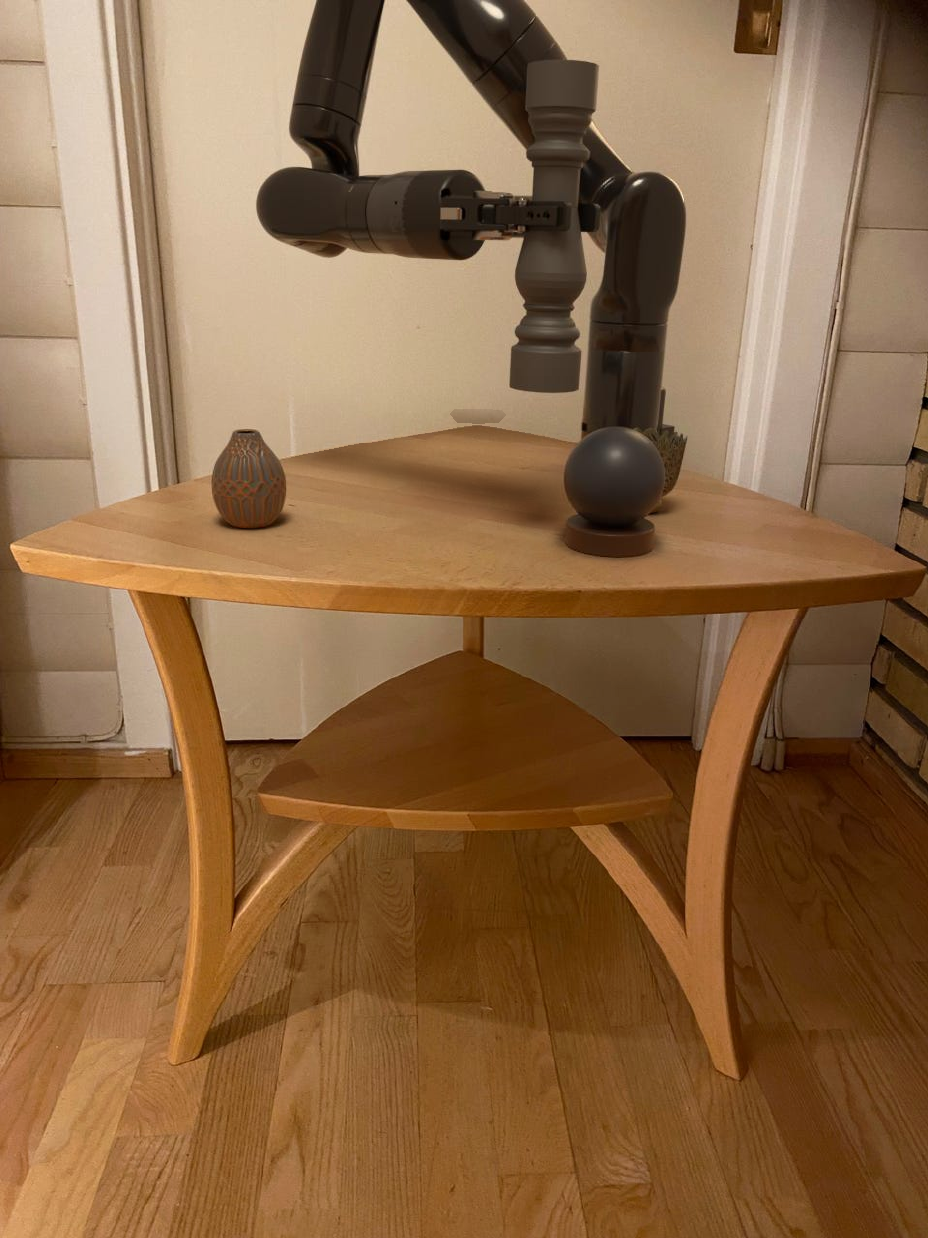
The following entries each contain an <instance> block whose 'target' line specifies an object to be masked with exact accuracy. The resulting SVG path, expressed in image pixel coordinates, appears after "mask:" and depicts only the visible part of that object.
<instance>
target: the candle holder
mask: <svg viewBox="0 0 928 1238" xmlns="http://www.w3.org/2000/svg"><path fill="white" fill-rule="evenodd" d="M599 72H600V65H599V64H597V63H595V62H591V61H588V60H587V61H586V60H578V59H577V60H576V59H567V60H542V61H534V62H531V63H528V66H527V86H526V107H525V110H526V111H527V112H528V113H529V118H528V122H529V124H530V125H531V127H532V131H533V135H534V136H535V143H534V144H532V145H531V146H530V147H529V148H528V149H527V150H526V149H525V150H526V152H525V156H526V157H525V158H526V159H527V160H528V161H529V162H531V168H533V169H532V170H533V173H532V192H531V194H532V195H531V196H532V201H565V202H569V203H570V204H571V206H572V210H571V225H570V228H569V230H567V231H537V230H528V232H525V235H524V238H522V243H521V246H520V250H519V254H518V258H517V262H516V266H515V269H514V280H515V286H516V288H517V290H518V293H519V295H520V296H521V298H522V299H523V300H524V302H523V304H522V307H523V308H524V310H525V315H523V316H522V318H521V320H520V321H519V324H518V325H516V326H515V328H514V335H515V337H516V338H517V339H518V342H516V343H515V344H513V345H512V346H511V347H510V365H509V367H510V368H509V383H508V384H509V388H510V389H513V390H517V391H522V392H528V393H529V392H530V393H540V394H541V393H542V394H543V393H544V394H564V393H565V394H566V393H573V392H574V393H575V392H577V391H579V390H580V377H581V364H582V349H581V348H580V347H579V346H577V345H575V344H576V341H577V340H579V339H580V336H581V331H580V329H579V328H578V327H577V326H576V322H575V321H574V319H573V318H572V317H571V316H572V315H571V314H572V313H571V312H573V311H574V310H575V305H574V303H575V302H576V300H577V299H578V298H579V297H580V296H581V294H582V293H583V291H584V288H585V286H586V283H587V277H588V276H587V275H588V272H587V265H586V264H587V263H586V257H585V251H584V250H585V249H584V243H583V238H582V232H581V229H580V221H579V214H578V197H579V182H580V169H581V168H583V163H584V162H586V161H587V160H588V159H589V157H590V151H589V150H588V149H587V148H586V147H585V146H584V145H583V143H582V138H583V136H585V134H586V130H587V128H588V126H589V125H590V124H591V122H592V120H593V118H592V116H593V114H594V113H595V112H596V111H597V101H598V89H599V88H598V87H599ZM527 226H528V227H529V225H527Z"/></svg>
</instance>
